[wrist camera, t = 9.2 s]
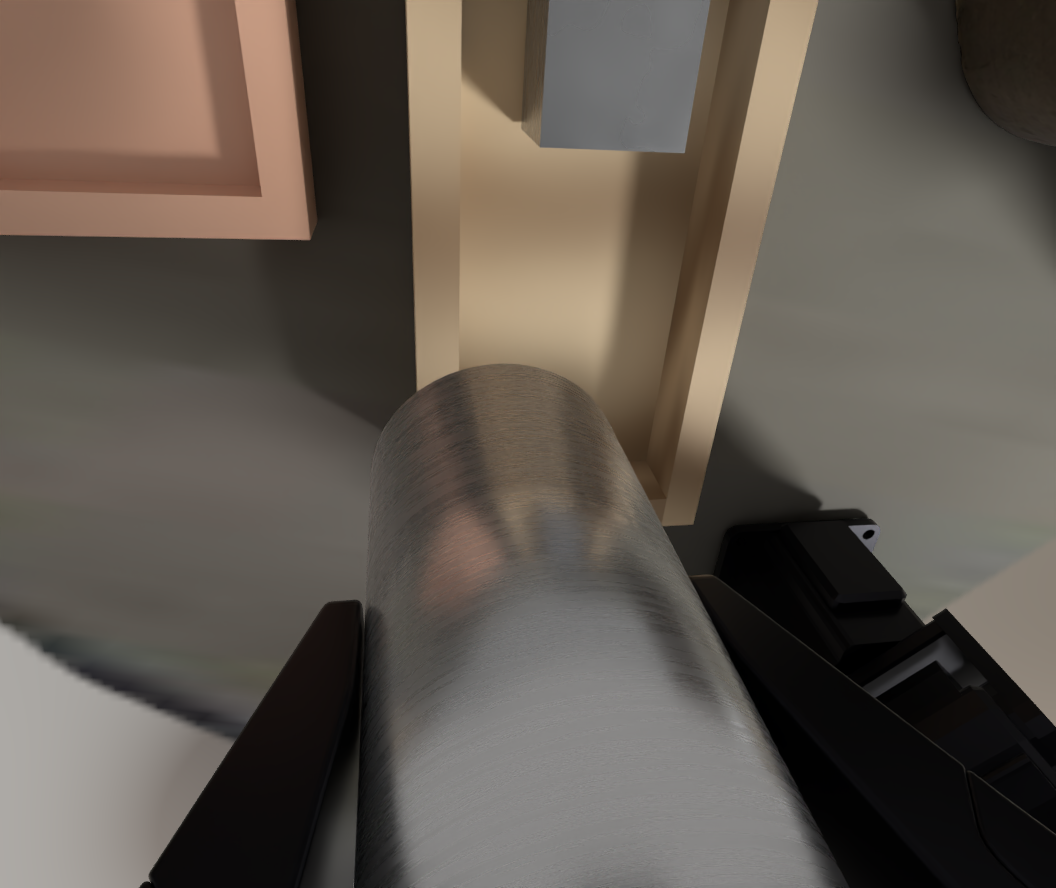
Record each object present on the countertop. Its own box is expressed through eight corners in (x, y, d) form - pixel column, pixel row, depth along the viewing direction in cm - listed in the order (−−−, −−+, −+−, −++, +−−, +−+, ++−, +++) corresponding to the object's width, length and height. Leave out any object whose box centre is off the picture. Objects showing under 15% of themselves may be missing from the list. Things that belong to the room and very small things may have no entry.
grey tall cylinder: (600, 558, 13) (905, 1370, 5) (378, 574, 12) (357, 1542, 4) (631, 360, 10) (1234, 1263, 3) (363, 366, 10) (271, 1554, 2)
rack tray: (317, 221, 18) (310, 239, 17) (-58, 213, 17) (-103, 232, 15) (272, -237, 14) (256, -268, 12) (-254, -303, 12) (-346, -346, 11)
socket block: (647, 444, 24) (693, 524, 20) (418, 452, 23) (421, 539, 19) (754, -146, 16) (865, -196, 12) (399, -188, 14) (398, -258, 11)
